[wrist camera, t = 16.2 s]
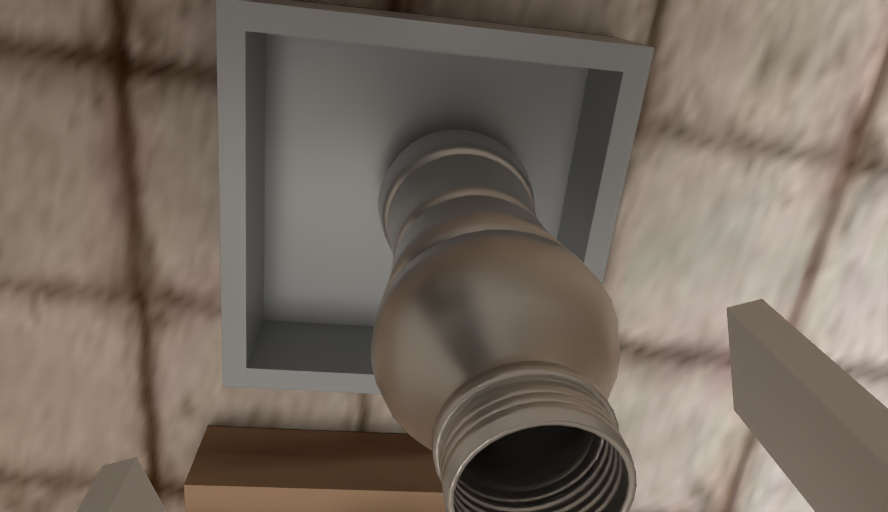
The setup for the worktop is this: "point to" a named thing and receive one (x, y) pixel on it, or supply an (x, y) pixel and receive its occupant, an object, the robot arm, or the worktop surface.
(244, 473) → the walnut frame
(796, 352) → the robot arm
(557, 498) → the plastic bottle
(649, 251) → the worktop surface
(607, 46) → the slate tray
